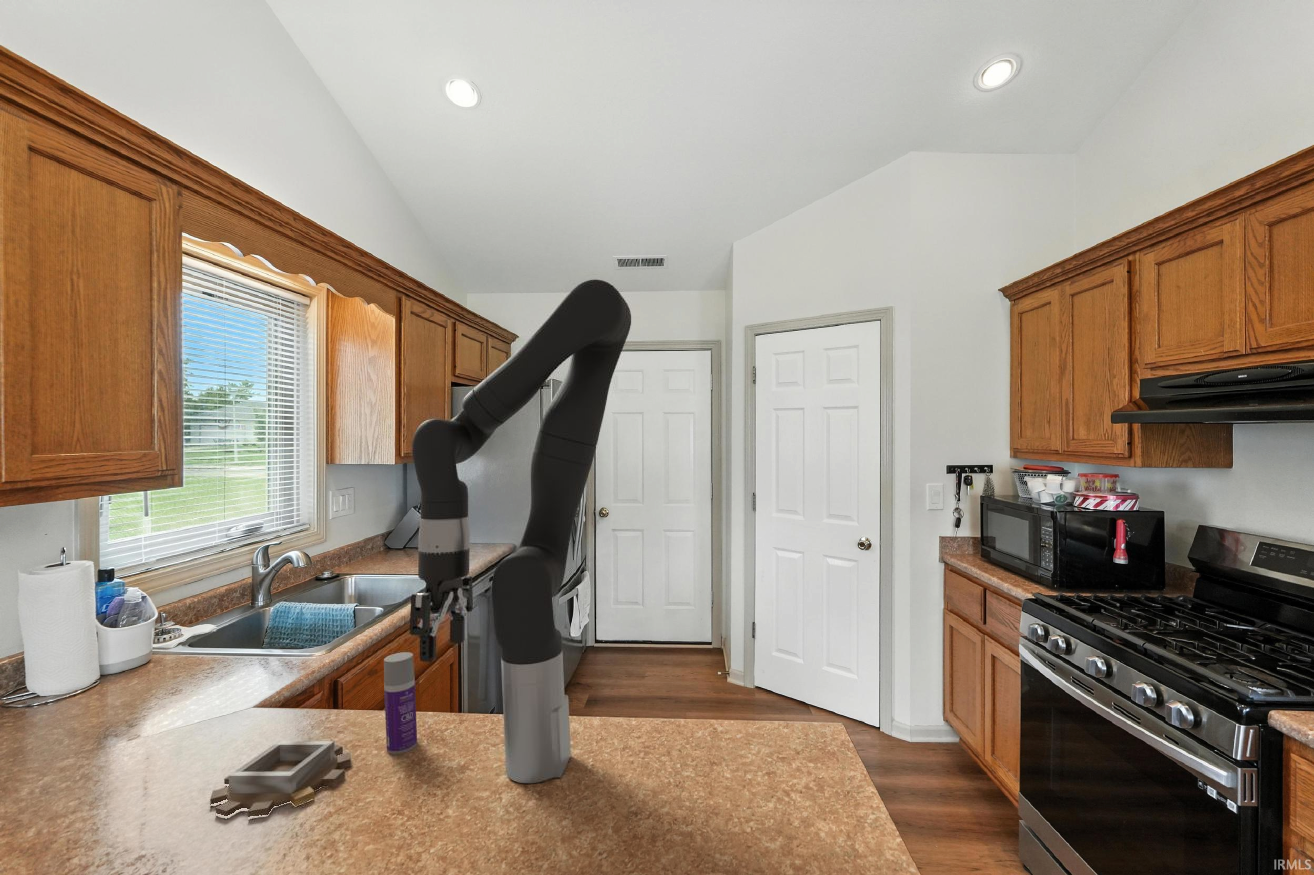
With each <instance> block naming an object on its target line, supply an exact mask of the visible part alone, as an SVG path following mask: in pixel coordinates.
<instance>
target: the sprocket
mask: <svg viewBox="0 0 1314 875" xmlns="http://www.w3.org/2000/svg"><path fill="white" fill-rule="evenodd" d="M343 747H344V746H343V745H339V744H335V741H334V740H332V741H331V740H328V741H327V740H324V741H323V740H320V741H319V740H315V741H314V740H313V741H310V740H309V741H307V740H306V741H304V740H303V741H301V740H300V741H298V740H297V741H295V740H293V741H292V740H290V741H285V740H284V741H283V740H282V741H276V743H274V744H273V745H271V746H269V747H268V748H267V749H266V750H264V751H262V752H261V753H259V754H258V755H257V756H255V757H254V758H252V759H250V760H249V761H248V762H246V763H245V764H244V765H242V766H241V767H239V768H238V769H236V770H235V771H233V772H232V773H230V774H229V775H228V776H226V777H225V778H223V780H224V781H223V784H229V786H228V787H221V788H218V789H215V790H212V793H211V795H210V797H209V799H210V800H209V802H210V803H209V805H211V804H214V803H218V802H221V801H223V800H226V799H227V800H228V801H227V802H225V803H223V804H221V805H218V806H215V814H216V813H217V814H221V815H224V816H228V815H230V814H232V813H234V812H235V811H236V810H239V809H241V808H247V809H249V810H248V812H247V818H248V817H250V816H259V815H261V816H262V815H268V814H269V812H270V811H271V809H272V808H273V807H274V806H279V805H281V804H284V803H287V802H290V801H291V802H292V803H293V804H294V805H295V806H297V805H299V804H302V803H305V802H307V801H309V800H311V799H314V800H315V792H316V791H315V790H317V789H319V788H320V787H322V786H326V787H325V788H335V787H336V786H338V785H339V784H340V783H341V782H342V781H343V780H344V779H345V778H346V772H345V771H346V770H345V769H347V768H346V767H348V768H350V767H349V766H351V767H352V759H351V758H352V755H351V751H350V752H346V753H344V750H343ZM342 753H343V754H342ZM340 754H341V755H340ZM338 755H339V756H338ZM343 768H344V769H343ZM340 769H341V770H340ZM342 779H343V780H342ZM327 786H328V787H327ZM322 788H323V787H322ZM320 789H321V788H320ZM320 789H319V790H320ZM314 791H315V792H314ZM317 791H318V790H317Z"/></svg>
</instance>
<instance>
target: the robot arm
mask: <svg viewBox="0 0 1314 875" xmlns="http://www.w3.org/2000/svg"><path fill="white" fill-rule="evenodd" d="M630 309H631V308H630V307H629V304H628V303H627V301H626V300H625V298H624V297H623V296H622V295H621V293H620V291H619V290H618V289H617V288H616V287H615V286H614V285H612V284H611V283H609V281H605V280H601V279H589V280H585V281H583V282H581V283H579V284H577V286H575V287H574V288H573V289H572V290H571V291H570V292H569V293H568V294H567V295H566V296H565V297H564V299H563V300H562V301H561V303H559V304H558V305H557V307H556V308H555V309H554V311H553V312H552V313H551V315H549V317H547V318H546V320H545V321H544V322H543V323H542V325H541V326H539V328H538V329H537V330H536V331H535V332H534V333H533V334H532V335H531V336H530V337H529V338H528V340H527V341H525V342H524V344H523V345H522V346H521V347H519V348H518V350H516V351H515V352H514V353H513V354H512V355H511V356H510V357H509V358H508V359H506V360H505V361H504V363H502V364H500V366H499V367H497V368H496V369H495V370H494V371H493V372H491V373H490V374H489V375H488V376H487V377H485V378H484V379H483V380H482V381H481V382H480V383H478V384H477V385H475V387H473V388H472V389H471V390H470V391H469V392H468V393H467V394H466V395H465V396H464V397H463V400H462V402H461V406H462V409H461V410H460V412H459V413H458V414H457V415H455V417H453V418H452V419H442V418H430V419H427V420H425V421H424V422H422V423H421V424H419V426H418V427H417V428H416V430H415V432H414V434H413V439H412V444H411V452H412V454H411V455H412V459H413V460H412V461H413V464H414V469H415V472H416V473H415V474H416V477H417V478H416V479H417V482H418V485H419V487H420V488H419V490H420V520H419V521H420V522H419V523H420V524H419V527H418V528H419V530H418V549H417V550H418V553H417V554H418V555H417V556H418V557H417V558H418V559H417V560H418V561H417V562H418V563H417V566H418V568H417V569H418V570H417V571H418V572H417V577H418V578H419V579H420V580H422V581H424V582H425V587H424V591H423V592H413V593H412V594H411V596H410V612H409V613H410V616H409V635H410V636H418V637H419V660H420V661H421V662H423V663H424V662H425V663H433V662H434V661H436V659H437V635H436V634H437V631H438V628H439V626H440V623H441V622H443V621H444V620H445V618H446V615H447V614H448V615H449V618H450V620H449V642H450V643H451V644H457V645H458V644H459V645H460V644H462V643H464V642H465V636H466V634H465V632H466V631H465V630H466V628H465V626H466V625H465V624H466V623H465V622H466V620H465V619H467V618H468V613H471V612H472V611H473V610H474V602H473V601H474V600H473V596H474V595H473V594H474V593H473V590H474V589H473V577H472V576H471V575H469V574H470V550H471V549H470V548H471V546H470V544H471V543H470V541H471V540H470V538H471V537H470V535H471V534H470V525H469V491H468V489H469V488H468V485H467V484H466V483H465V482H464V481H462V480H460V479H459V475H458V469H457V464H461V463H464V462H465V461H467V460H468V459H471V458H472V457H473V456H474V455H476V454H477V453H478V452H479V451H480V449H482V447H483V446H484V445H485V443H487V442H488V440H489V439H490V438H491V437H492V435H493V434H494V433H495V431H496V429H498V428H499V427H500V426H502V425H504V424H505V422H507V421H508V420H509V419H510V418H512V417H513V416H514V415H515V414H516V413H518V412H519V411H520V410H521V409H523V407H524V406H526V405H527V404H528V403H529V402H530V401H531V400H532V399H533V398H534V397H535V395H536V394H537V393H538V392H539V390H540V389H541V388H542V387H543V385H544V384H545V383H546V381H548V379H549V378H550V377H551V375H552V374H553V372H554V371H556V369H558V367H559V366H561V365H562V364H563V363H564V362H565V361H567V360H568V359H569V358H570V357H571V358H570V362H569V365H568V368H567V371H566V374H565V376H564V378H563V381H562V383H561V384H560V386H559V388H558V390H557V391H556V393H555V395H554V396H553V397H552V400H551V401H550V403H549V405H548V407H547V410H546V411H545V413H544V414H543V418H542V420H541V423H540V426H539V429H538V430H539V431H537V432H538V433H537V436H536V440H535V444H534V448H533V453H532V457H531V463H530V509H529V510H530V511H529V514H528V519H527V523H526V526H525V529H524V532H523V535H522V538H521V541H520V544H519V546H518V548H517V550H516V551H515V552H514V553H510V555H507V556H506V557H505V558H503V559H502V560H501V561H500V562H499V563H498V564H497V566H496V568H495V570H494V572H493V576H492V580H491V581H492V582H491V602H492V614H493V626H494V634H495V639H496V642H497V644H498V646H499V648H500V662H501V664H500V665H501V683H502V684H501V685H502V686H501V689H502V706H503V708H502V710H503V711H502V712H503V730H504V732H503V734H504V754H505V756H504V758H505V759H504V761H505V762H504V763H505V772H506V776H507V778H509V779H510V780H512V781H514V782H517V783H519V784H520V783H521V784H534V783H541V782H545V781H548V780H551V779H554V778H561V777H563V774H564V772H565V770H566V768H567V765H568V764H569V763H568V762H569V761H570V758H571V757H572V752H571V748H572V747H571V730H570V729H571V727H570V708H569V707H570V706H569V705H570V704H569V696H568V695H567V694H565V681H564V680H565V679H564V677H565V676H564V658H563V638H562V632H560V630H559V629H557V628H556V625H555V616H554V603H553V602H554V601H553V600H554V597H555V596H556V595H557V594H558V593H559V591H560V589H561V587H562V585H563V582H564V579H565V573H566V567H567V560H568V554H569V548H570V547H569V546H570V540H571V534H572V530H573V525H574V520H575V518H576V515H577V512H578V509H579V507H580V504H581V500H582V498H583V494H584V492H585V488H586V485H587V482H588V478H589V474H590V471H591V468H592V464H593V460H594V458H595V452H596V450H597V445H598V441H599V436H600V432H601V427H602V424H603V421H604V415H605V411H606V406H607V402H608V396H609V390H610V385H611V383H612V379H613V375H614V373H615V370H616V367H617V365H618V363H619V362H618V361H619V359H620V357H621V355H622V352H623V350H624V346H625V344H626V341H627V339H628V336H629V334H630V330H631V326H632V314H631V310H630ZM419 619H420V622H419V624H418V621H419Z"/></svg>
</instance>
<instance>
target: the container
mask: <svg viewBox="0 0 1314 875" xmlns="http://www.w3.org/2000/svg"><path fill="white" fill-rule="evenodd" d="M383 669H384V670H383V676H384V677H383V684H384V694H383V695H384V712H385V713H384V715H385V717H384V718H385V738H386V752H387V753H388V754H390V755H401V754H405V753H408V752H410V751H412V750H414V749H415V748H416V747H417V745H418V734H417V733H418V729H417V704H416V702H417V701H416V680H415V665H414V654H413V652H408V651H404V652H403V651H402V652H397V653H393V654H390V655H388V656H386V657H385V658H384V659H383Z"/></svg>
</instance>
